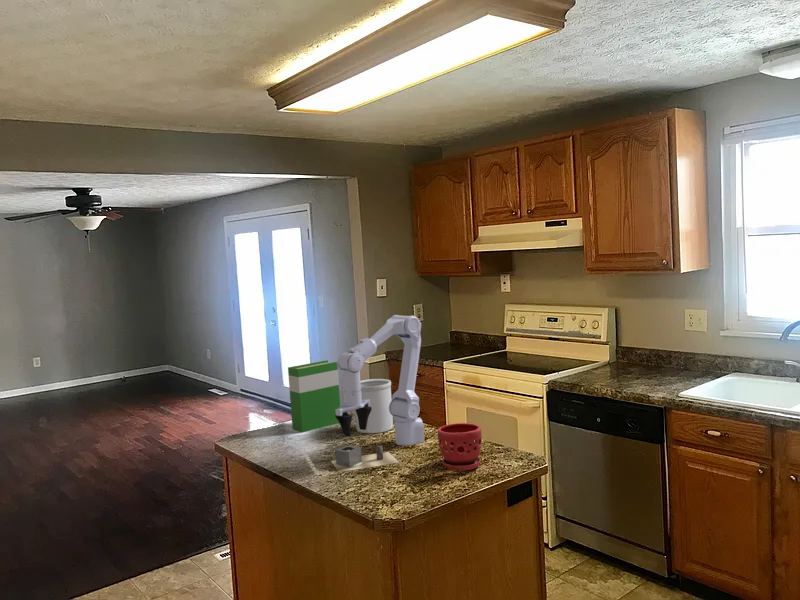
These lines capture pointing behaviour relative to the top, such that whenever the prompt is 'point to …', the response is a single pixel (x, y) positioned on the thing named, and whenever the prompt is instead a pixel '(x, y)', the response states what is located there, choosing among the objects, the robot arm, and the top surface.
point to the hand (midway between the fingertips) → (355, 432)
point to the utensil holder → (377, 405)
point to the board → (369, 460)
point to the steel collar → (348, 456)
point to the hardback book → (314, 395)
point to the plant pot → (460, 445)
